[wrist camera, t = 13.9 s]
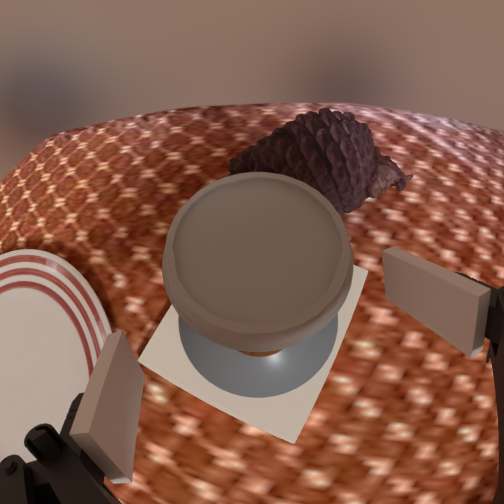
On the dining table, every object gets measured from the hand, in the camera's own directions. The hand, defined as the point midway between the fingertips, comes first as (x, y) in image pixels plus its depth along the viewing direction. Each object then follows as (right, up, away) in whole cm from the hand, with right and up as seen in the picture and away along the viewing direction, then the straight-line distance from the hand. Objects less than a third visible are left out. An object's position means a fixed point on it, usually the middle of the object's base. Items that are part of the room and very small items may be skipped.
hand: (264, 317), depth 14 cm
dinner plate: (-24, -10, +9) cm, 28 cm away
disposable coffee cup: (0, -2, +11) cm, 11 cm away
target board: (0, -3, +12) cm, 12 cm away
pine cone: (+6, +9, +18) cm, 21 cm away
